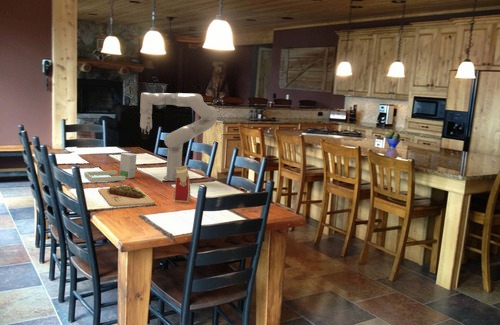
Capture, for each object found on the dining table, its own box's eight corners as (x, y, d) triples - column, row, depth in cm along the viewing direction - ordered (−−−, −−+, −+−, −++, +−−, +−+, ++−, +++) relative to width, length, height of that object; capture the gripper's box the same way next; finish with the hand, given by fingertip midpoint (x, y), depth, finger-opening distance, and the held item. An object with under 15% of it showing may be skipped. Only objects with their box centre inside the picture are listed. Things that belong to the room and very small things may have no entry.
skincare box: (119, 176, 304) (119, 153, 301) (126, 175, 310) (127, 152, 307) (128, 178, 300) (129, 155, 297) (135, 177, 306) (136, 153, 303)
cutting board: (97, 191, 265) (97, 178, 264) (137, 189, 276) (138, 177, 275) (110, 208, 235) (111, 194, 234) (155, 205, 246) (156, 191, 245)
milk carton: (190, 198, 263) (192, 164, 260) (188, 202, 254) (190, 167, 251) (174, 197, 263) (175, 162, 259) (171, 201, 254) (173, 165, 250)
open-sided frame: (125, 180, 295) (125, 176, 295) (91, 181, 284) (91, 177, 283) (116, 174, 310) (116, 170, 309) (84, 175, 298) (84, 171, 298)
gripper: (156, 112, 299) (154, 141, 302) (147, 110, 312) (146, 137, 315) (145, 112, 294) (143, 141, 298) (136, 110, 308) (135, 137, 311)
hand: (145, 138), depth 306 cm, fingers open, 3 cm apart
